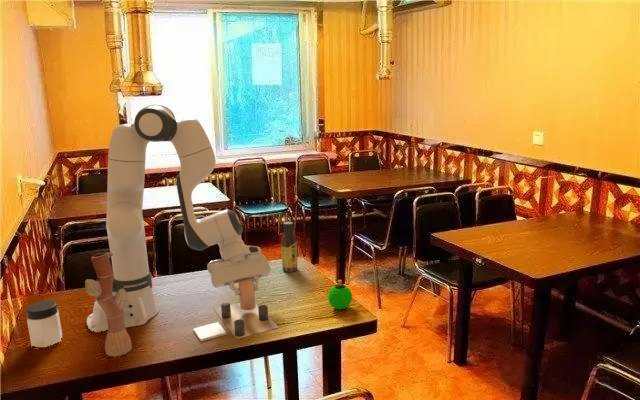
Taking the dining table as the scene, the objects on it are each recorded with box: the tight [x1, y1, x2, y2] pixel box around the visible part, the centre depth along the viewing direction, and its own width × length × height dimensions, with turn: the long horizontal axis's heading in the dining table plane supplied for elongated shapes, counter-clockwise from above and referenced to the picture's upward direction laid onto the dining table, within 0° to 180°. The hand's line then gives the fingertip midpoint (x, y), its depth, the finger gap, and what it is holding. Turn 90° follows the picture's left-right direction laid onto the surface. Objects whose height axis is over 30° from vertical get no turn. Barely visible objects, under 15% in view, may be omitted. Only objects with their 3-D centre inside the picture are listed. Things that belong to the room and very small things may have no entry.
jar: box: [26, 300, 63, 347], centre depth 154 cm, size 9×8×12 cm
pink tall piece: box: [84, 251, 133, 357], centre depth 146 cm, size 10×7×30 cm
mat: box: [192, 321, 227, 342], centre depth 158 cm, size 8×8×1 cm
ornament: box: [327, 279, 353, 310], centre depth 171 cm, size 8×8×10 cm
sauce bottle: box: [281, 221, 298, 273], centre depth 207 cm, size 7×6×20 cm
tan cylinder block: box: [238, 279, 256, 310], centre depth 169 cm, size 5×5×9 cm
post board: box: [213, 302, 279, 340], centre depth 167 cm, size 14×24×5 cm, turn 27°
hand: (247, 292), depth 169 cm, fingers closed on tan cylinder block, 5 cm apart
